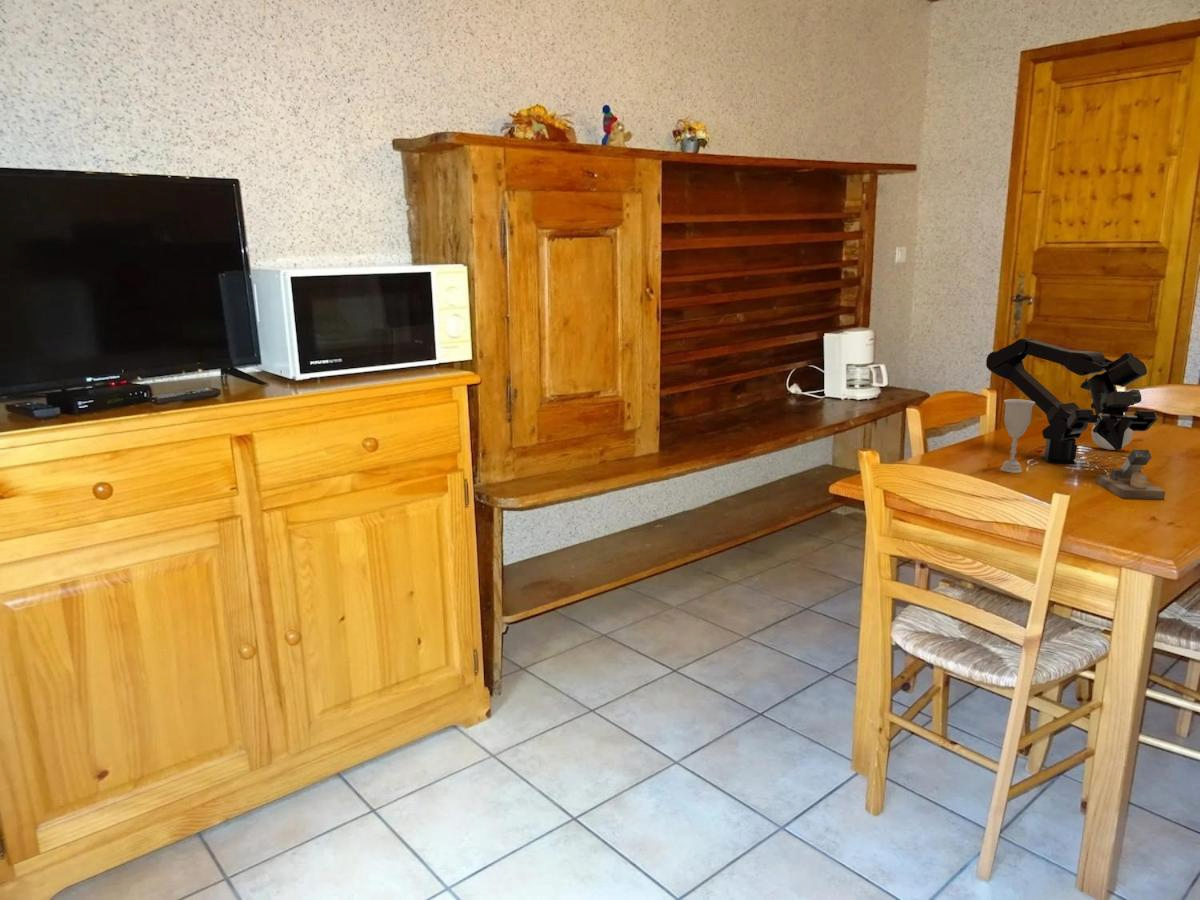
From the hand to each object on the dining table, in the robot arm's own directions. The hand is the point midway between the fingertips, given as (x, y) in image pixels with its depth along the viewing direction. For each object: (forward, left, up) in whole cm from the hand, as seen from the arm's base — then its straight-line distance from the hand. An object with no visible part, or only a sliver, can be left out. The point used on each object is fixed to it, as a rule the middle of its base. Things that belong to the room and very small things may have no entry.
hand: (1119, 449), depth 202 cm
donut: (+12, +35, -9) cm, 38 cm away
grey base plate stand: (+1, -7, -8) cm, 11 cm away
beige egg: (+1, -10, -6) cm, 12 cm away
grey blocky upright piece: (+1, -4, -5) cm, 7 cm away
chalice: (-21, +8, -9) cm, 24 cm away
